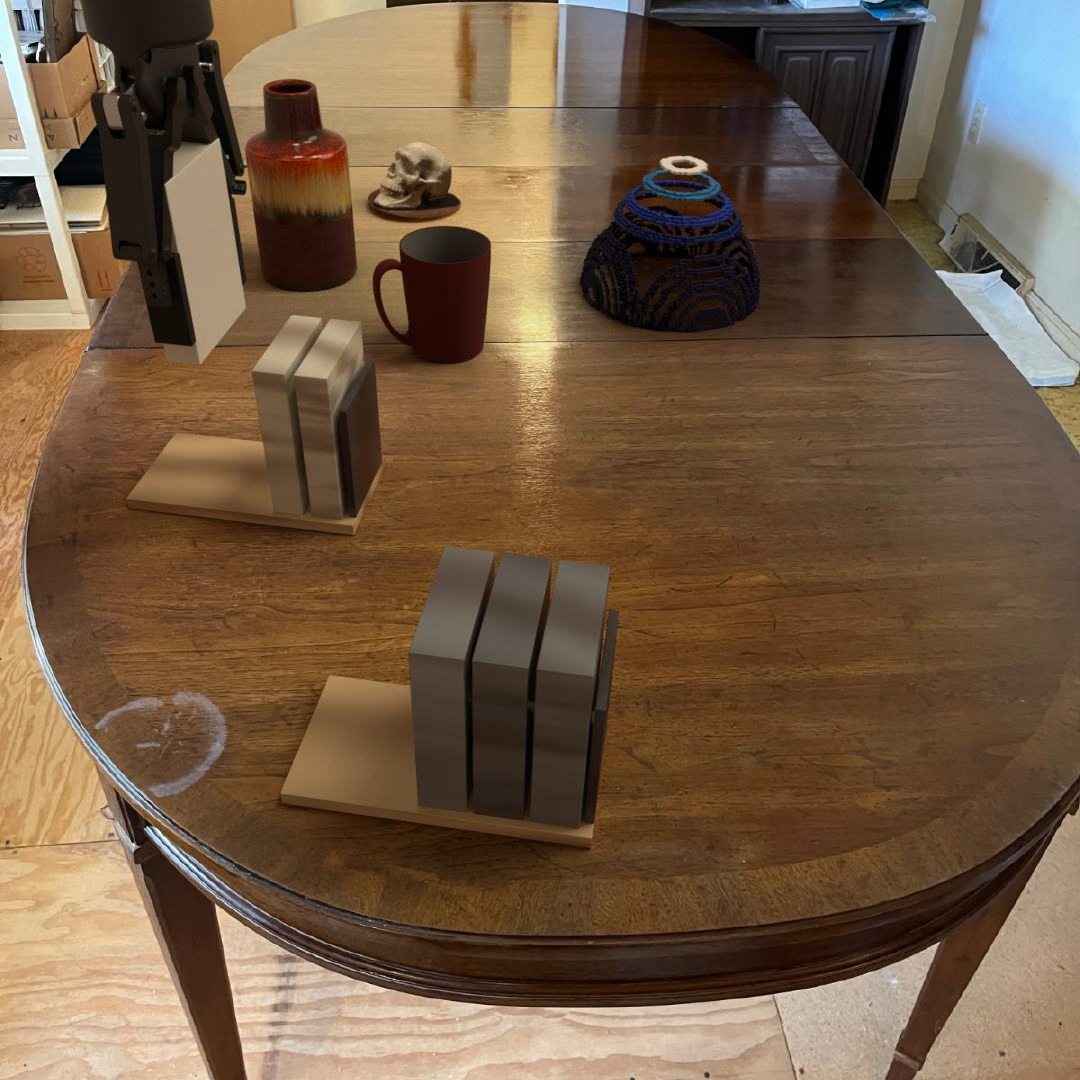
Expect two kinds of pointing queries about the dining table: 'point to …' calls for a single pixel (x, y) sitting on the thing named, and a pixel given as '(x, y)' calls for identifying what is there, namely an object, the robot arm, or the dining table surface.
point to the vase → (300, 192)
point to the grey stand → (477, 708)
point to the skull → (416, 184)
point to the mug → (441, 291)
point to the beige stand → (285, 441)
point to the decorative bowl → (651, 245)
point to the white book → (204, 247)
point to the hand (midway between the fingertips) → (203, 310)
